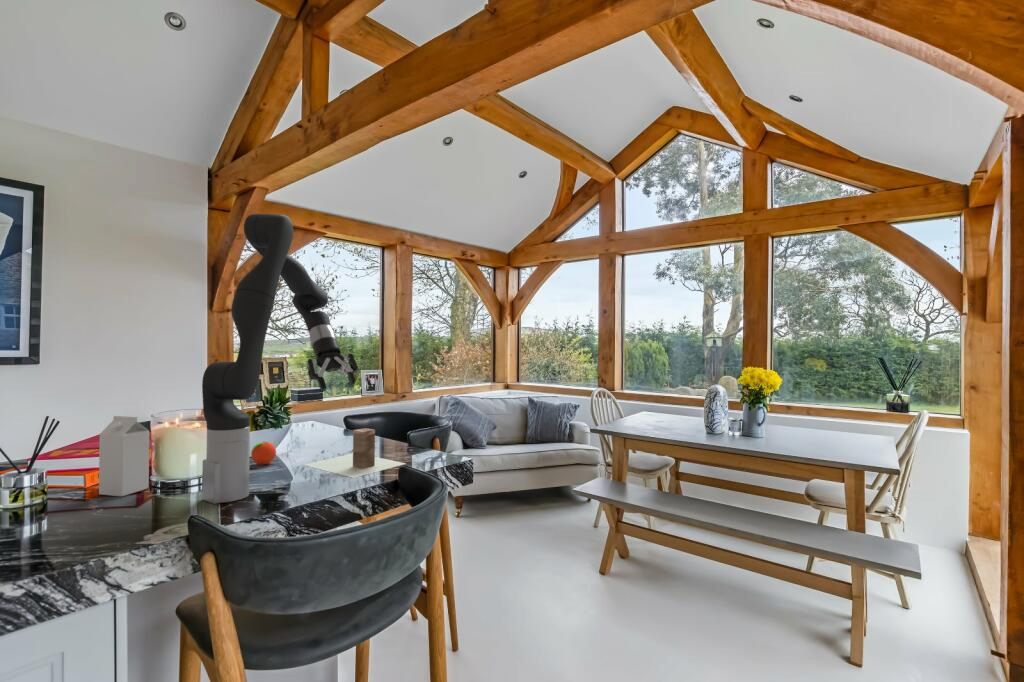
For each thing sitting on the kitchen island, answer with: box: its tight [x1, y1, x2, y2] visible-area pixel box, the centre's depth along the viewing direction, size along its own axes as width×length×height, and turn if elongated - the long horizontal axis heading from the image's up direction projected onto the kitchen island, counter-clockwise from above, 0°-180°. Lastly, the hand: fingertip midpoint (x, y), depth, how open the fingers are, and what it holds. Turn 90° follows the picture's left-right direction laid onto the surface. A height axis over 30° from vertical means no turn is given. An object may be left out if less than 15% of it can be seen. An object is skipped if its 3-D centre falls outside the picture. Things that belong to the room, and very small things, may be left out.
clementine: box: [250, 441, 277, 466], centre depth 154 cm, size 8×7×7 cm
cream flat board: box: [303, 453, 407, 479], centre depth 153 cm, size 20×24×1 cm
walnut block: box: [352, 427, 376, 469], centre depth 151 cm, size 4×4×11 cm
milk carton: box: [98, 415, 150, 497], centre depth 125 cm, size 7×7×19 cm
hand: (339, 387), depth 151 cm, fingers open, 8 cm apart
